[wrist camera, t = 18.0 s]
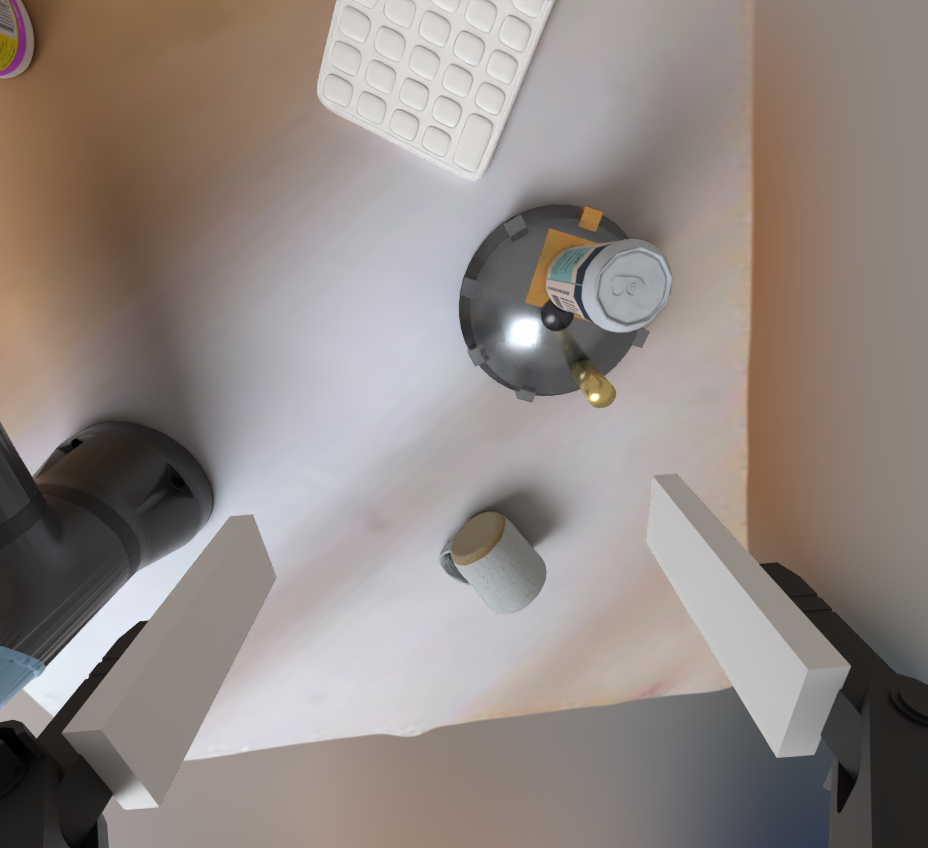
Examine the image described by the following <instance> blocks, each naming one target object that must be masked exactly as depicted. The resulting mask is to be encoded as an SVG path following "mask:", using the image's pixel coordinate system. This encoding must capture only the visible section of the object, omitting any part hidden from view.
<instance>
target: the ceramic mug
mask: <svg viewBox="0 0 928 848" xmlns="http://www.w3.org/2000/svg"><path fill="white" fill-rule="evenodd" d="M447 553H450V554H451V558H452V560H453V561H452V560H451V559H450V556H449V555H448V554H447ZM439 562H440V565H441V567H442V568H443V570H444V571H445V572H446V573H447V574H448V575H449V576H450V577H452V578H453V579H455V580H456V581H458V582H460V583H463V584H465V585H470V586H472V587H473V588H474V590H475V591H476V592H477V593H478V595H479V596H480V597H481V598H482V600H483V601H484V602H485V603H486V605H487V606H488V607H489V608H490V609H491V610H492V611H494V612H496V613H498V614H511V613H514V612H517V611H519V610H521V609H523V608H524V607H526V606H527V605H528V604H530V603H531V602H532V601H533V600H534V599H535V598H536V597H537V595H538V594H539V592H540V591H541V589H542V587H543V585H544V583H545V579H546V566H545V563H544V561H543V559H542V558H541V557H540V556H539V554H538V553H537V552H536V551H535V550H534V549H533V547H532V546H531V545H530V544H529V543H528V541H527V540H526V539H525V538H524V537H523V536H522V535H521V534H520V532H519V531H518V530H517V529H516V527H515V526H514V525H513V524H512V523H511V522H510V521H509V520H508V519H507V518H506V517H505V516H503V515H502V514H500V513H498V512H484V513H481V514H479V515H477V516H475V517H473V518H472V519H470V520H469V521H468V522H466V523H465V524H464V525H463V526H462V527H461V528H460V530H459V531H458V532H457V534H456V535H455V537H454V539H453V541H451V542H449V543H447V544H446V545H445V546H444V548H443V549H442V551H441V553H440V557H439ZM453 562H454V563H453Z"/></svg>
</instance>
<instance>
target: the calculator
mask: <svg viewBox="0 0 928 848" xmlns="http://www.w3.org/2000/svg"><path fill="white" fill-rule="evenodd" d="M554 2H555V0H336V4H335V8H334V12H333V16H332V21H331V25H330V29H329V33H328V38H327V42H326V46H325V50H324V55H323V59H322V63H321V68H320V72H319V77H318V83H317V94H318V98H319V100H320V101H321V103H322V104H323V105H324V106H325V107H327V108H328V109H329V110H331V111H332V112H334V113H336V114H338V115H339V116H341V117H343V118H345V119H347V120H349V121H351V122H353V123H355V124H357V125H359V126H361V127H363V128H365V129H367V130H369V131H371V132H373V133H375V134H377V135H379V136H381V137H383V138H385V139H386V140H388V141H390V142H392V143H394V144H396V145H398V146H400V147H402V148H404V149H406V150H408V151H410V152H412V153H414V154H416V155H418V156H420V157H422V158H424V159H426V160H428V161H430V162H432V163H434V164H436V165H438V166H440V167H442V168H444V169H446V170H448V171H450V172H452V173H454V174H456V175H458V176H460V177H462V178H464V179H467V180H471V181H478V180H479V179H481V178H482V176H483V175H484V173H485V172H486V170H487V168H488V165H489V163H490V161H491V159H492V156H493V154H494V151H495V149H496V146H497V144H498V141H499V139H500V136H501V134H502V131H503V129H504V126H505V124H506V121H507V119H508V116H509V114H510V112H511V109H512V107H513V104H514V102H515V99H516V97H517V94H518V92H519V89H520V87H521V84H522V82H523V79H524V77H525V74H526V72H527V69H528V67H529V64H530V62H531V59H532V57H533V54H534V52H535V49H536V47H537V44H538V42H539V39H540V37H541V34H542V32H543V29H544V27H545V24H546V22H547V20H548V17H549V15H550V12H551V10H552V7H553V5H554ZM468 3H469V4H468ZM467 6H468V7H467ZM466 9H467V10H466ZM384 13H385V14H384ZM448 22H449V23H448ZM450 26H451V27H450ZM501 26H502V27H501ZM419 29H420V31H419ZM500 29H501V30H500ZM340 30H341V31H340ZM530 30H531V31H530ZM530 34H531V35H530ZM457 36H458V37H457ZM484 46H485V47H484ZM453 50H454V51H453ZM358 51H359V52H358ZM491 54H492V55H491ZM409 61H410V62H409ZM384 64H385V65H384ZM517 66H518V67H517ZM447 67H448V68H447ZM393 70H394V71H393ZM444 74H445V75H444ZM335 75H336V76H335ZM443 77H444V78H443ZM472 77H473V78H472ZM343 79H344V80H343ZM348 82H349V83H348ZM482 83H483V84H482ZM480 85H481V86H480ZM428 90H429V91H428ZM476 94H477V95H476ZM504 94H505V95H504ZM399 95H400V97H399ZM325 96H326V97H325ZM445 97H446V98H445ZM436 99H437V100H436ZM433 107H434V108H433ZM461 109H462V110H461ZM357 110H358V111H357ZM402 110H403V111H402ZM410 114H411V115H410ZM432 115H433V116H432ZM416 118H417V119H418V120H417V119H416ZM391 119H392V120H391ZM390 123H391V124H390ZM464 126H465V127H464ZM390 127H391V128H390ZM392 131H393V132H392ZM425 131H426V132H425ZM446 133H447V134H446ZM461 134H462V135H461ZM460 137H461V138H460ZM422 140H423V142H422ZM457 145H458V146H457Z"/></svg>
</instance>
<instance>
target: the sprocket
mask: <svg viewBox="0 0 928 848" xmlns="http://www.w3.org/2000/svg"><path fill="white" fill-rule="evenodd" d="M602 214H603V212H602V211H598V210H595V209H592V208H589V207H586V206H585V207H579V210H578V213H577V216H576V219H567V218H564V219H550V220H545V221H540V222H536V223H533V224H530V225H527V226H526V225H525V223H524V220H523V218H522V216H521V215H519V216H517V217H515V218H514V219H512V220H511V221H509V222H507V223H506V224H504V225H503V227H504V229H505V231H506V234H507V236H508V237H507V238H505V239H504V240H503V241H502V242H501V243H500V244H499V245H498V246H497V247H496V248H495V249H494V250H493V251H492V253H491V254H490V255H489V256H488V258H487V259H486V261H485V262H484V264H483V265H482V267H481V269H480V271H479V273H478V276H477V278H474V277H471V276H467V275H466V276H465V279H464V283H463V287H462V291H461V295H462V296H465V297H468V298H471V310H470V314H471V327H472V332H473V337H474V340H475V343H474V344H472V345H470V346H468V354H469V356H470V358H471V360H472V361H473V363H474V365H475V367H476V366H477V365H479V364H481V363H483V362H486V363H487V365H488V366H489V367H490V368H491V369H492V370H493V371H494V372H495V373H496V374H497V375H498V376H499V377H500V378H502V379H503V380H505V381H506V382H508V383H509V384H511V385H513V386H515V387H516V390H515V392H516V396H517V399H521V400H525V401H528V402H533V399H534V396H535V394H536V393H539V394H560V393H566V392H571V391H575V390H578V389H581V390H582V392H583V393H584V395H585V396H586V398H587V399H588V401H589V402H590V403H591V405H593V406H594V407H597V408H604V407H607V406H609V405H610V404H611V403H612V402H613V401H614V399H615V397H616V391H615V388H614V387H613V386H612V384H611V383H610V382H609V381H608V380H607V379H606V378H605V377H604V375H606V374H607V373H609V372H610V371H611V370H612V369H613V368H614V367H615V366H616V365H617V364H618V363H619V362H620V361H621V359H622V358H623V357H624V356H625V354H626V353H627V351H628V350H629V348H630V347H631V345H634V346H637V347H641V348H642V347H643V345H644V343H645V340H646V338H647V336H648V334H649V331H647V330H646V329H644V328H639V329H637V330H633V331H630V332H612V331H608V330H606V329H603V328H601V327H600V326H598V325H597V324H595V323H594V322H592V321H589V320H587V319H585V318H583V317H581V316H578V315H576V314H574V313H572V312H569V311H565V310H563V309H560V308H559V307H557V306H556V305H555V304H554V303H553V302H552V301H551V299H550V297H549V296H548V293H547V290H546V275H547V271H548V268H549V266H550V264H551V262H552V261H553V260H554V259H555V257H556V256H557V255H558V254H559V253H561V252H562V251H564V250H566V249H568V248H571V247H575V246H585V245H593V244H600V243H608V242H615V241H620V240H619V239H618V238H617V237H616V236H614V235H613V234H612V233H611V232H609V231H607V230H606V229H604V228H602V227H600V226H598V225H599V222H600V220H601V217H602Z"/></svg>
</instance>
